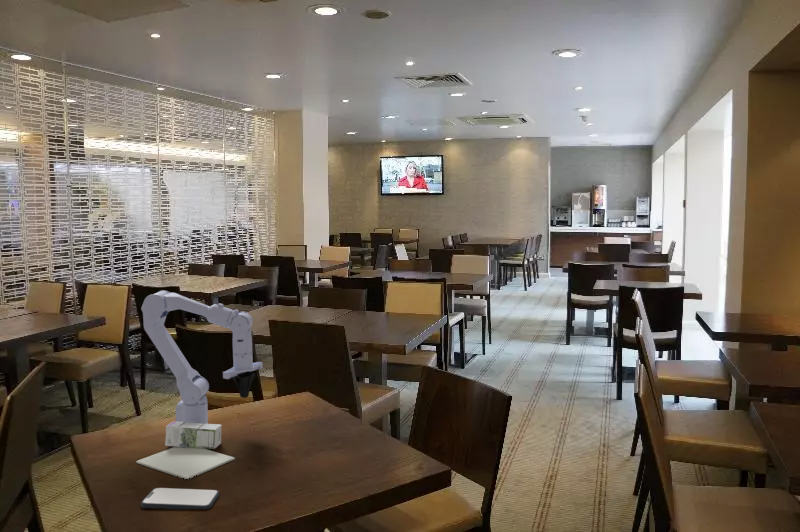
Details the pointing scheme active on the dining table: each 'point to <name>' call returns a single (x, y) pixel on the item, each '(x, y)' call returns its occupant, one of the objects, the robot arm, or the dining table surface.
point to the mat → (185, 461)
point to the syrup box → (193, 435)
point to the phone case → (180, 498)
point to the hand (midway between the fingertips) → (244, 396)
